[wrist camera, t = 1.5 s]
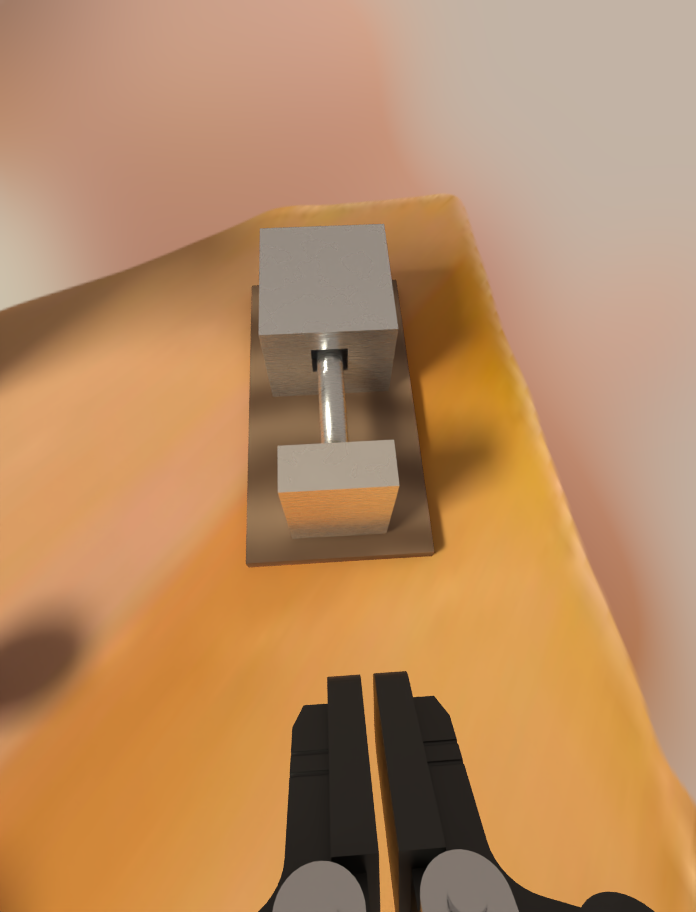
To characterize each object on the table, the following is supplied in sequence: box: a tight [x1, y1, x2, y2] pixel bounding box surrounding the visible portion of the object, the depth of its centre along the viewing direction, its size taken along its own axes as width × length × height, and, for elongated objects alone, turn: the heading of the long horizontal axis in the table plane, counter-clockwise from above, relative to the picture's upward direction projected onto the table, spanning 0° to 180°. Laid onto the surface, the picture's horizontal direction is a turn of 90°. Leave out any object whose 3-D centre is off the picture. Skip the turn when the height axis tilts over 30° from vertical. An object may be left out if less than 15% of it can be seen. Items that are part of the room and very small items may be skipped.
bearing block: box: [259, 224, 398, 397], centre depth 42 cm, size 11×10×8 cm
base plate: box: [246, 280, 434, 567], centre depth 44 cm, size 27×14×1 cm, turn 4°
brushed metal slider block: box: [277, 349, 399, 539], centre depth 38 cm, size 21×7×10 cm, turn 4°
